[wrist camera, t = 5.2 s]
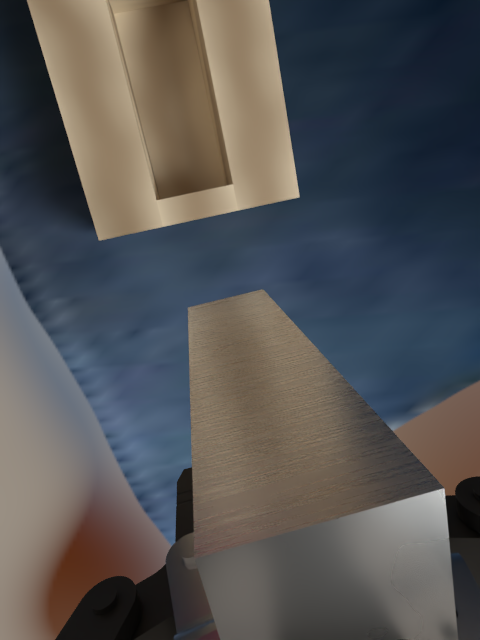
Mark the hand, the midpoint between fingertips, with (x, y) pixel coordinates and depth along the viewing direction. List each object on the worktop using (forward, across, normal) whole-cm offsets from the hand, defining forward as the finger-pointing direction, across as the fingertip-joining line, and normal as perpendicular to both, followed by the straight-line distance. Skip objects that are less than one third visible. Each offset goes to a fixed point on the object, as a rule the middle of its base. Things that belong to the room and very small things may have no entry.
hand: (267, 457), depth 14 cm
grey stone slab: (+4, 0, 0) cm, 4 cm away
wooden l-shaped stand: (+19, 0, -16) cm, 25 cm away
